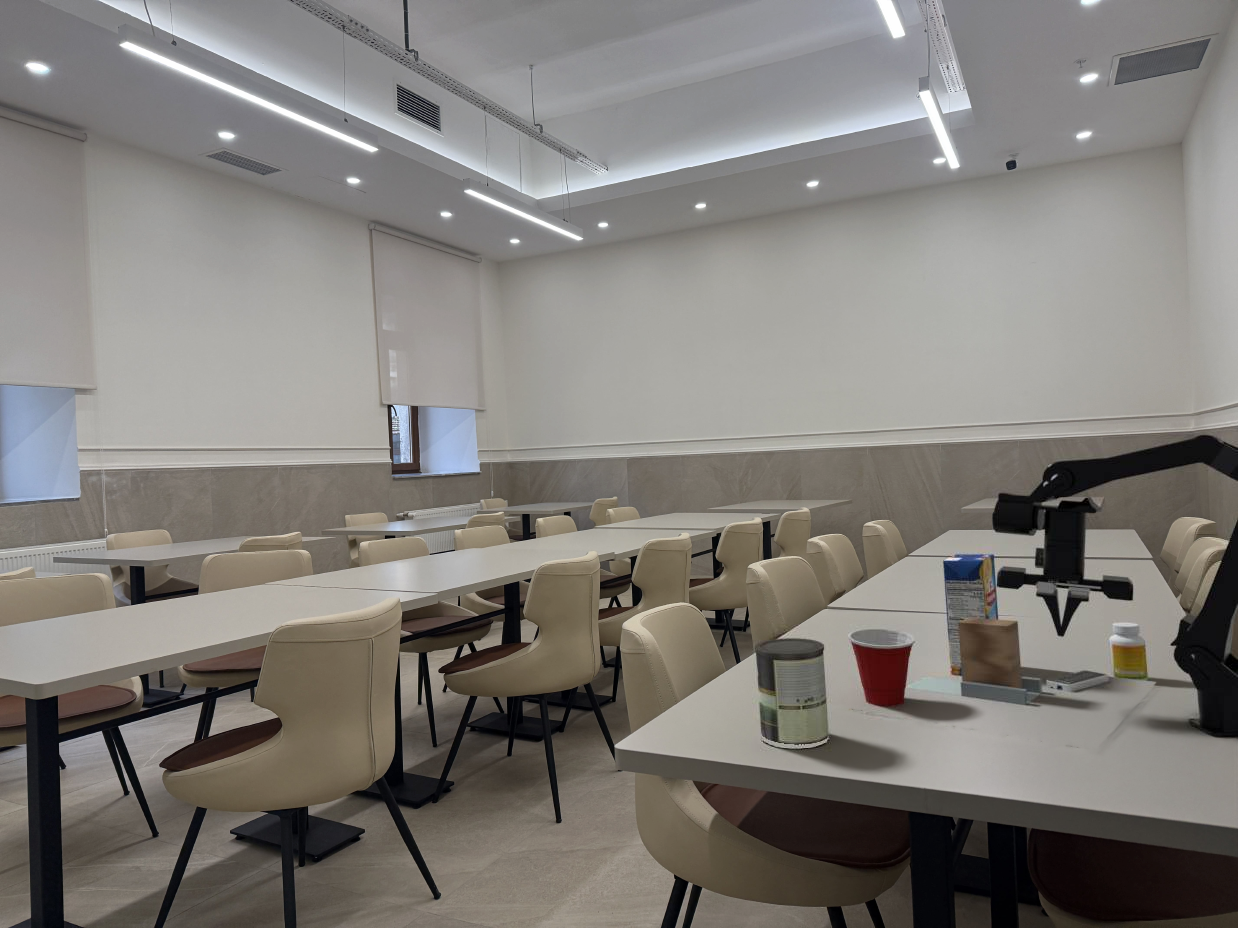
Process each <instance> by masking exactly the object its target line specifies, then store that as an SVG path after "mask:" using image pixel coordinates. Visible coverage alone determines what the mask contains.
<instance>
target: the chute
mask: <svg viewBox="0 0 1238 928" xmlns="http://www.w3.org/2000/svg"><path fill="white" fill-rule="evenodd" d="M1021 676H1022V675H1021ZM905 689H909V690H914V691H915V690H916V691H922V692H930V693H939V694H945V695H952V696H957V697H958V696H959V697H967V698H974V699H980V700H987V701H993V702H1002V703H1008V704H1015V705H1022V706H1026V705H1028V704H1029V703H1030V702H1031V701H1033V700H1034V699H1035V698H1037V697H1038V696H1039V695H1040V694H1042V693H1043V685H1042V678H1039V677H1031V676H1024V675H1023V676H1022V689H1021V688H1013V687H1005V686H998V685H990V684H982V683H974V682H966V681H963V682H962V680H953V679H947V678H946V679H945V678H938V677H932V676H931V677H929V676H923V677H921V678H920V679H917V680H916V681H913V682H912V683H910V684H909V685H906V687H905Z"/></svg>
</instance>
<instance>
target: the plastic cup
mask: <svg viewBox="0 0 1238 928" xmlns="http://www.w3.org/2000/svg"><path fill="white" fill-rule="evenodd" d="M847 636H848V641H850V643H851V645H852V646H851V647H852V649H853V652H854V653H853V655H855V660H856V664H857V669H858V673H859V678H860V683H861V686H862V688H863V693H864V697H865V701H866V703H867V704H870V705H872V706H878V707H896V706H899V705H903V704H904V703H905V693H906V688H905V687H906V686H907V679H908V671H909V670H908V669H909V662H910V661H909V660H910V657H911V651H912V647H913V645H914V644H915V642H916V637H915V636H914V635H912V634H911V633H909V632H905V631H901V630H896V629H890V628H862V629H858V630H854V631H851V632H850V633H848V635H847Z"/></svg>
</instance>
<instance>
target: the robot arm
mask: <svg viewBox="0 0 1238 928" xmlns="http://www.w3.org/2000/svg"><path fill="white" fill-rule="evenodd" d="M1195 464H1204V465H1206V466H1208V467H1210V468H1212V469H1213V470H1215V471H1218V472H1219V473H1221V474H1223V475H1225V476H1226V477H1228V478H1230V479H1232V480H1235V481H1236V482H1238V447H1237V446H1235V445H1233V444H1230V443H1228V442H1226V441H1225V440H1222V438H1220V437H1218V436H1217V435H1214V434H1213V435H1212V434H1200V435H1196V436H1194V437H1192V438H1189V439H1185V440H1182V441H1175V442H1172V443H1167V444H1163V445H1158V446H1154V447H1150V448H1146V449H1140V450H1137V451H1131V452H1127V453H1122V454H1119V455H1114V456H1110V457H1100V458H1085V459H1073V460H1062V461H1061V460H1059V461H1054V462H1051V463H1050V464H1049V465H1047V466H1046V468H1045V470H1044V472H1043V474H1042V479H1041V480H1042V481H1041V482H1040V483H1039V485H1038V486H1037V487H1036V488H1035V489H1034V490H1033V491H1032V492H1031V493H1030V494H1016V493H1012V492H999V493H998V499H997V501H996V503H995V506H994V510H993V512H992V516H991V517H992V518H991V521H992V528H993V530H994V532H995V533H997V534H1008V535H1019V536H1029V537H1033V536H1034V537H1035V535H1036V533H1037V531H1042V530H1043V528H1044V537H1043V539H1044V540H1043V548H1042V547H1035V555H1034V567H1035V569H1042V574H1037V573H1028V572H1027V568H1026V567H1016V566H1007V565H1006V566H1005V565H1003V566H1002V567H1000V568H999V569H998V571H997V575H996V588H1000V589H1010V590H1019V589H1020V588H1022V587H1023V586H1024V585H1025V586H1034V587H1035V589H1036V592H1035V597H1037V598H1042V599H1043V602H1045V605H1046V607H1047V609H1048V611H1049V614H1050V616H1051V619H1052V622H1053V625H1054V628H1055V631H1056V634H1057V636H1058V637H1061V638H1063V637H1064V636H1065V635H1066V631H1067V629H1068V627H1069V626H1070V622H1071V620H1072V618H1073V616H1074V614H1075V613H1076V611H1077V609H1078V608H1079V606H1080V604H1081V603H1082V602H1085V603H1089V602H1090V594H1091V592H1096V593H1102V594H1103V595H1105V596H1106V597H1107V599H1109V600H1118V601H1119V600H1120V601H1128V602H1131V601H1132V602H1133V601H1134V584H1133V581H1132V580H1131V579H1130V578H1129V576H1118V575H1107V574H1106V575H1105V574H1104V575H1102V580H1101V579H1093V578H1085V568H1086V567H1085V559H1086V558H1085V557H1086V555H1085V554H1086V533H1087V514H1097V513H1101V512H1103V511H1102V510H1103V508H1102V507H1100V506H1099V505H1098V504H1097V503H1096V502H1094V500H1093V498H1092V497H1090V496H1087V497H1084V498H1083V499H1082V500H1081V501H1079V500H1064V499H1062V500H1060V502H1059V503H1058V505H1050V504H1049V505H1048V504H1043V503H1045V502H1051V501H1057V500H1058V499H1061V498H1070V497H1076V496H1079V495H1082V494H1084V493H1085V494H1086V493H1088V492H1090V491H1093V490H1095V489H1098V488H1101V487H1103V486H1105V485H1108V484H1110V483H1113V482H1116V481H1118V480H1122V479H1123V480H1124V479H1129V478H1132V477H1138V476H1143V475H1147V474H1152V473H1156V472H1162V471H1165V470H1166V471H1167V470H1171V469H1177V468H1182V467H1186V466H1190V465H1195ZM1227 543H1228V544H1227V546H1226V548H1225V550H1224V553H1223V556H1222V557H1221V560H1220V562H1219V565H1218V568H1217V571H1216V573H1215V575H1214V577H1213V581H1212V583H1211V585H1210V587H1209V590H1208V593H1207V594H1206V595H1207V596H1206V598H1205V600H1204V602H1203V605H1202V609H1201V610H1200V612H1199V613H1198V614H1197V616H1195V615H1192V614H1191V613H1189V612H1188V613H1187V614H1186V615H1184V616H1183V617H1182V618H1181V619H1180V620H1179V625H1178V631H1177V636H1176V637H1175V639H1174V640H1172V641H1171V643H1170V646H1171V647H1174V651H1173V659H1174V661H1175V663H1176V664H1177V666H1178V668H1179V669H1181V671H1183V673H1185V674H1187V675H1189V677H1190V679H1191V681H1192V684H1193V685H1194V687H1195V689H1196V692H1197V693H1196V694H1197V704H1198V705H1197V706H1198V718H1195V717H1193V718H1188V719H1187V721H1188V723H1189V724H1190V725H1193V726H1194V727H1196V728H1198V729H1199V730H1202V731H1203V732H1204V733H1205V732H1206V733H1207V734H1209V735H1211V736H1215V737H1217V736H1220V737H1221V736H1222V737H1223V736H1224V737H1225V736H1227V737H1228V736H1235V737H1236V736H1237V737H1238V657H1237V656H1236V655H1234V654H1233V653H1232V652H1231V647H1232V640H1233V637H1234V635H1233V633H1234V625H1235V624H1234V623H1235V617H1236V614H1237V612H1238V518H1237V520H1236V523H1235V526H1234V528H1233V530H1232V532H1231V535H1230V538H1229V541H1228V542H1227ZM1059 589H1065V590H1066V589H1068V590H1067V594H1066V595H1067V596H1066V599H1065V600H1066V601H1065V605H1064V611H1063V616H1062V619H1061V612H1060V611H1061V610H1060V602H1059V601H1060V600H1059Z"/></svg>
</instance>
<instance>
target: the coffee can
mask: <svg viewBox="0 0 1238 928" xmlns="http://www.w3.org/2000/svg"><path fill="white" fill-rule="evenodd" d="M754 651H755V658H756V671H757V672H756V674H757V675H756V676H757V686H758V687H757V688H758V689H757V690H758V702H759V703H758V705H759V721H760V734H762V736H763V737H765V738H766V739H768V740H771V741H774V742H778V743H784V744H794V745H799V744H801V745H802V744H804V745H805V744H812V743H817V742H821V741H823V740H825V739H827V738H828V736H829V737H830V735H829V734H830V732H829V721H828V704H827V702H828V701H827V686H826V671H825V656H824V655H825V654H824V651H825V645H824V643H822V642H820V641H818V640H815V639H810V638H809V639H808V638H796V637H795V638H793V637H792V638H791V637H790V638H788V637H787V638H776V639H775V638H774V639H769V640H764V641H760V642H758V643H757V644H755V645H754Z"/></svg>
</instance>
